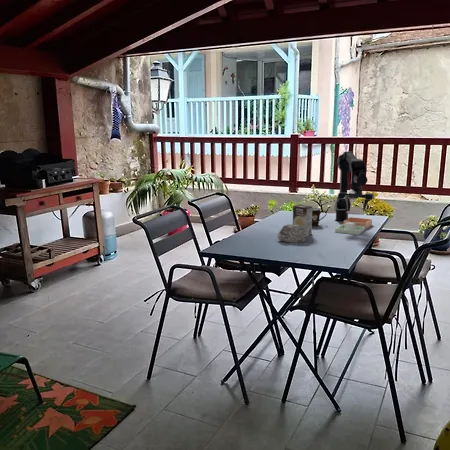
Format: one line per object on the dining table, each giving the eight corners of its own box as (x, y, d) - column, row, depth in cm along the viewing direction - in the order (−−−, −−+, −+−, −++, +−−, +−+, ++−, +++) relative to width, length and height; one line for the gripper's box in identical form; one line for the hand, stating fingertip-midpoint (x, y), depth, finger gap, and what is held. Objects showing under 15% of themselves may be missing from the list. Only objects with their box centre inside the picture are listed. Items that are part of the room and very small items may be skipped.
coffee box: (291, 234, 256) (292, 206, 252) (298, 232, 260) (298, 204, 257) (306, 237, 250) (306, 207, 246) (312, 234, 254) (313, 206, 251)
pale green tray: (335, 232, 257) (335, 228, 256) (342, 228, 267) (342, 224, 266) (358, 235, 250) (358, 231, 249) (364, 230, 260) (364, 226, 259)
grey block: (344, 231, 258) (345, 223, 257) (347, 229, 261) (347, 221, 260) (352, 232, 255) (353, 224, 254) (355, 230, 259) (355, 222, 258)
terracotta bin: (343, 227, 268) (343, 220, 267) (350, 223, 278) (350, 217, 277) (365, 230, 261) (366, 223, 260) (371, 225, 271) (372, 219, 270)
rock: (311, 240, 241) (308, 221, 240) (305, 243, 234) (302, 224, 233) (283, 242, 249) (280, 224, 248) (277, 245, 242) (274, 226, 241)
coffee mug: (304, 226, 274) (304, 209, 272) (307, 223, 282) (307, 207, 279) (323, 227, 269) (324, 210, 267) (326, 224, 277) (327, 208, 275)
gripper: (335, 184, 251) (335, 212, 254) (371, 185, 242) (370, 214, 246) (340, 181, 260) (339, 209, 264) (374, 183, 252) (373, 211, 255)
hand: (355, 211), depth 257 cm, fingers open, 9 cm apart
